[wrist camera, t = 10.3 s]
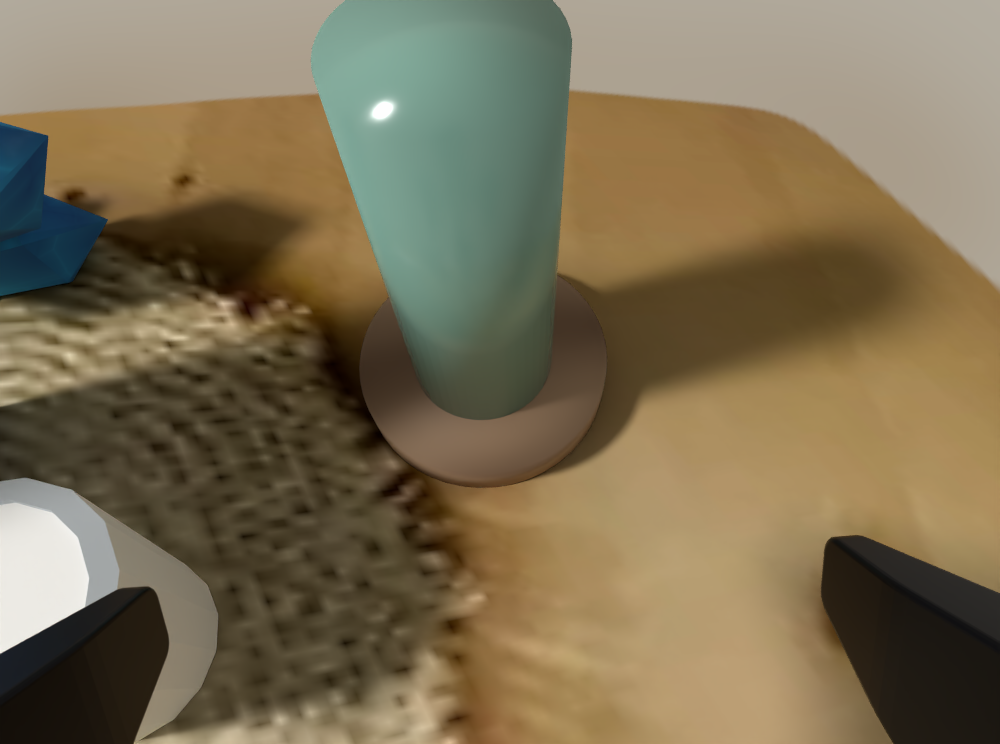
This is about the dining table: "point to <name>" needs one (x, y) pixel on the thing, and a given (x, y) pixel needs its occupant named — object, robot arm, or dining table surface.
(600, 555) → the dining table surface
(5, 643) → the white cup
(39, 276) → the crystal
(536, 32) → the teal rounded cylinder
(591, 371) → the walnut base
